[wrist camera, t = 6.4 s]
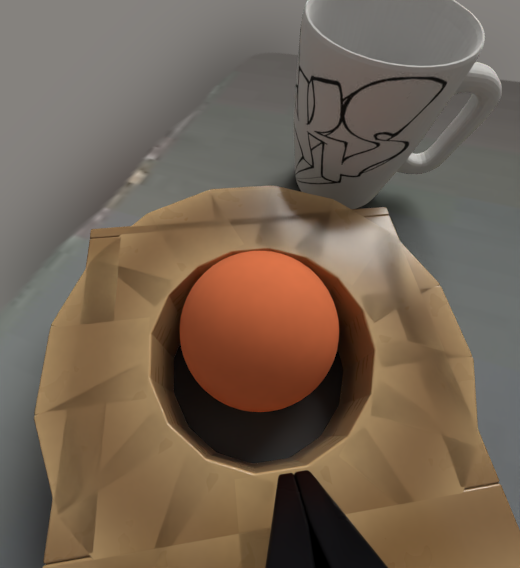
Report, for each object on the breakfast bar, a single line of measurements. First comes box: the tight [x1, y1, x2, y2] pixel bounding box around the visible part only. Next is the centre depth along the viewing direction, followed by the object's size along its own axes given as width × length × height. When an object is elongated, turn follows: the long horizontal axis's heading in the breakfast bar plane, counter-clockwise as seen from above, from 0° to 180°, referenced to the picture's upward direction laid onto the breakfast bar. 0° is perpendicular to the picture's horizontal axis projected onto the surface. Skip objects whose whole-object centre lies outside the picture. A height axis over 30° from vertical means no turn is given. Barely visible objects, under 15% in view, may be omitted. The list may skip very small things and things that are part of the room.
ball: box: [180, 251, 339, 412], centre depth 14 cm, size 7×7×7 cm
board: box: [34, 185, 520, 568], centre depth 12 cm, size 30×17×4 cm, turn 8°
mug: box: [294, 0, 502, 209], centre depth 18 cm, size 11×8×10 cm
